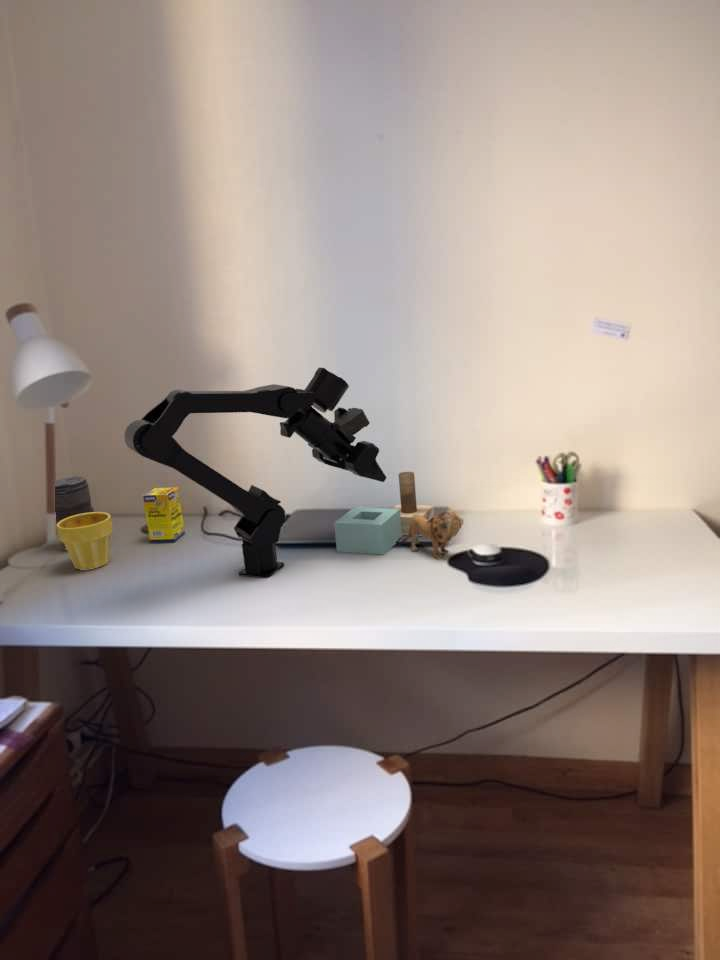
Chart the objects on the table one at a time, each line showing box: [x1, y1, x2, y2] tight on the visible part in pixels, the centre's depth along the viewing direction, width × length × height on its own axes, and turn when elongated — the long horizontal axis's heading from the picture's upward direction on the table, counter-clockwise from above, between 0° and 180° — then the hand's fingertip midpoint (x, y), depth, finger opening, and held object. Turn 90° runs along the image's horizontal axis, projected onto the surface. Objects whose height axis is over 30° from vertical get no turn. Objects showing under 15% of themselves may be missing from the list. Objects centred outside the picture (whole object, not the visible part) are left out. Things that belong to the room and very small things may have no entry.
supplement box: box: [142, 487, 186, 544], centre depth 162 cm, size 6×6×11 cm
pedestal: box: [392, 504, 435, 533], centre depth 154 cm, size 8×8×4 cm
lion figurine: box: [400, 509, 464, 559], centre depth 140 cm, size 15×5×9 cm, turn 46°
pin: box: [398, 471, 417, 513], centre depth 153 cm, size 3×3×8 cm
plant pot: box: [56, 511, 114, 570], centre depth 150 cm, size 10×10×10 cm
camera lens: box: [54, 476, 95, 548], centre depth 162 cm, size 8×8×15 cm
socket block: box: [333, 506, 403, 556], centre depth 147 cm, size 10×10×6 cm
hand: (372, 475), depth 148 cm, fingers open, 9 cm apart
